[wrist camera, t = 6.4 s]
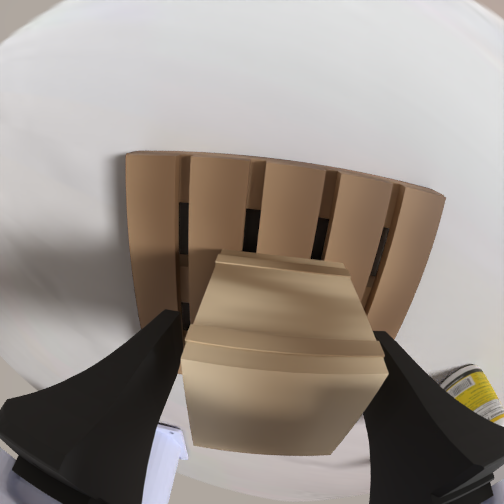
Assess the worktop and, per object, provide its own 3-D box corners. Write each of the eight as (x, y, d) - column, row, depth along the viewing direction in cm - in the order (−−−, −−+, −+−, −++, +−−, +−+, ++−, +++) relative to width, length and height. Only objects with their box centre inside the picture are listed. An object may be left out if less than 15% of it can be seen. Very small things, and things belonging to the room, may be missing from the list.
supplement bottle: (459, 398, 18) (488, 474, 10) (421, 405, 19) (448, 493, 10) (489, 360, 16) (531, 439, 7) (452, 364, 16) (496, 461, 7)
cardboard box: (217, 340, 13) (192, 445, 8) (220, 247, 11) (178, 356, 6) (317, 350, 13) (330, 455, 8) (344, 262, 11) (391, 372, 6)
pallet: (154, 346, 17) (144, 366, 15) (138, 150, 11) (119, 155, 10) (365, 368, 16) (371, 388, 15) (431, 188, 11) (450, 198, 10)
